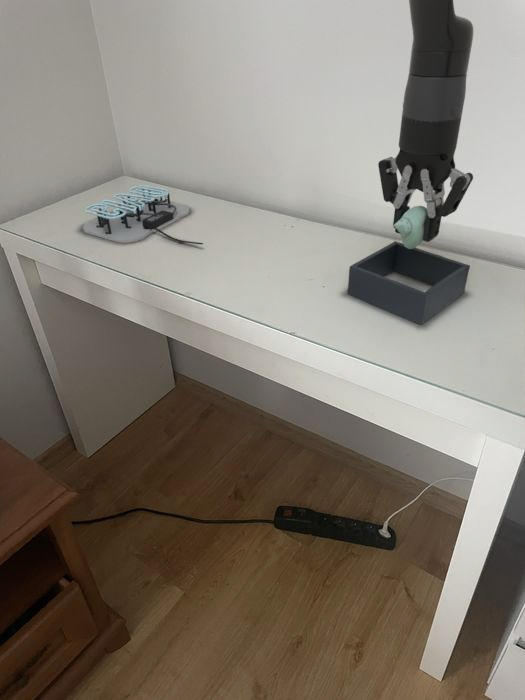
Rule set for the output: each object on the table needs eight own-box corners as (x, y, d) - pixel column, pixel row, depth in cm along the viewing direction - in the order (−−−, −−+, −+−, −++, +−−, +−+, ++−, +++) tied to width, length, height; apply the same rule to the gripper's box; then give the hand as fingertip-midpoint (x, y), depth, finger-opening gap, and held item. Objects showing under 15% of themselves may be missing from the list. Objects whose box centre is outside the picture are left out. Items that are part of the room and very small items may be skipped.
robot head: (414, 237, 83) (420, 195, 80) (438, 244, 81) (445, 201, 77) (385, 254, 79) (390, 210, 75) (409, 262, 76) (416, 217, 73)
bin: (463, 293, 84) (470, 265, 81) (421, 325, 77) (426, 295, 74) (391, 267, 92) (395, 240, 89) (347, 294, 85) (349, 266, 82)
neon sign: (181, 239, 94) (70, 210, 107) (184, 261, 97) (75, 230, 110) (247, 202, 108) (142, 180, 122) (248, 221, 111) (145, 198, 124)
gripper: (498, 114, 67) (471, 240, 77) (401, 101, 75) (388, 217, 85) (469, 124, 63) (444, 257, 72) (369, 110, 71) (360, 231, 81)
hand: (414, 235), depth 79 cm, fingers closed on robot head, 4 cm apart
